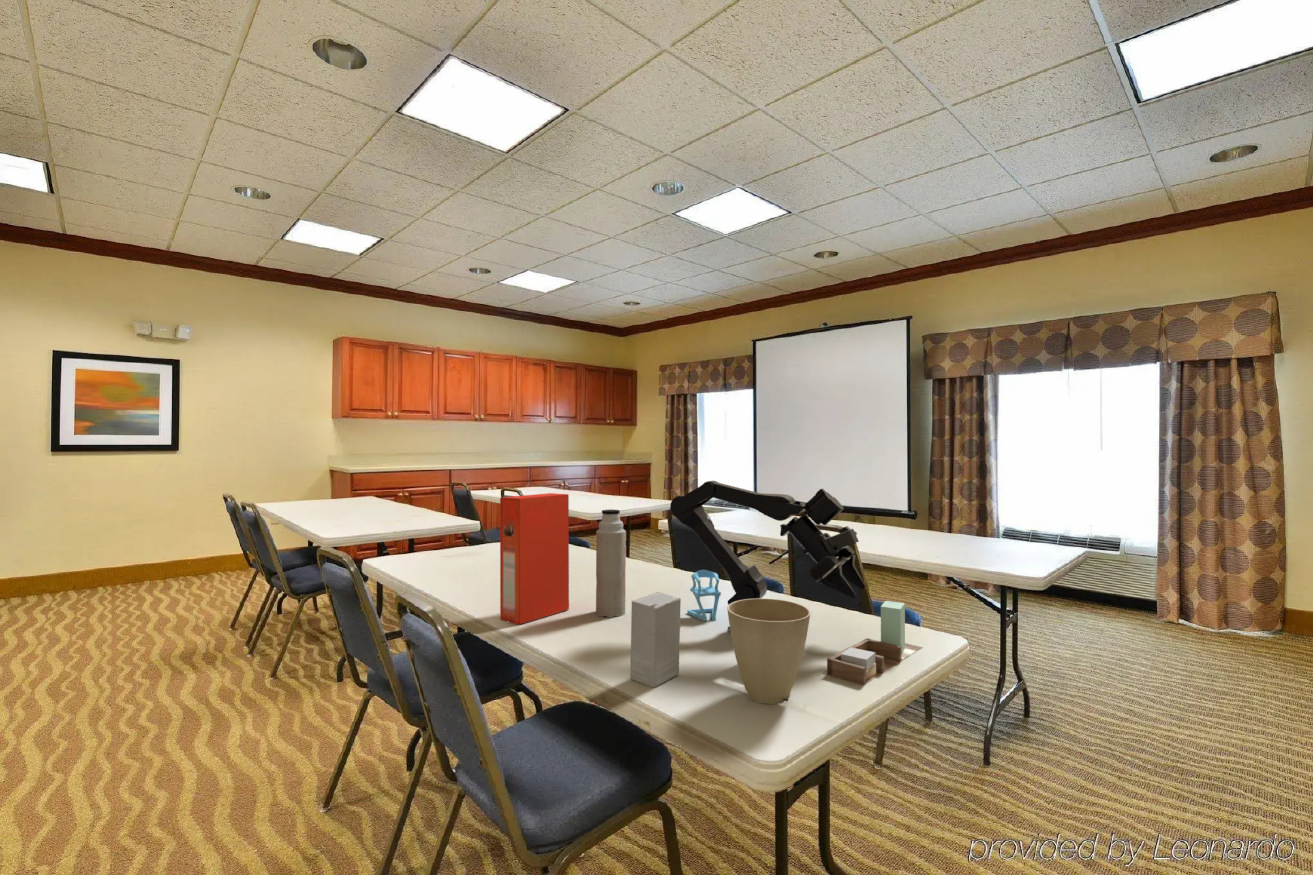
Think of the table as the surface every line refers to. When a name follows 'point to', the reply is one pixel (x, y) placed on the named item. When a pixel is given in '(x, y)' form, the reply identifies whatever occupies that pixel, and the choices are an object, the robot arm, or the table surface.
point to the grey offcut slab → (858, 657)
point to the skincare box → (655, 638)
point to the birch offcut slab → (871, 671)
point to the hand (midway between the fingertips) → (859, 592)
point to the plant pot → (768, 645)
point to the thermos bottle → (610, 565)
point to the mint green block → (893, 623)
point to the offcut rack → (884, 660)
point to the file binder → (534, 556)
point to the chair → (704, 594)
